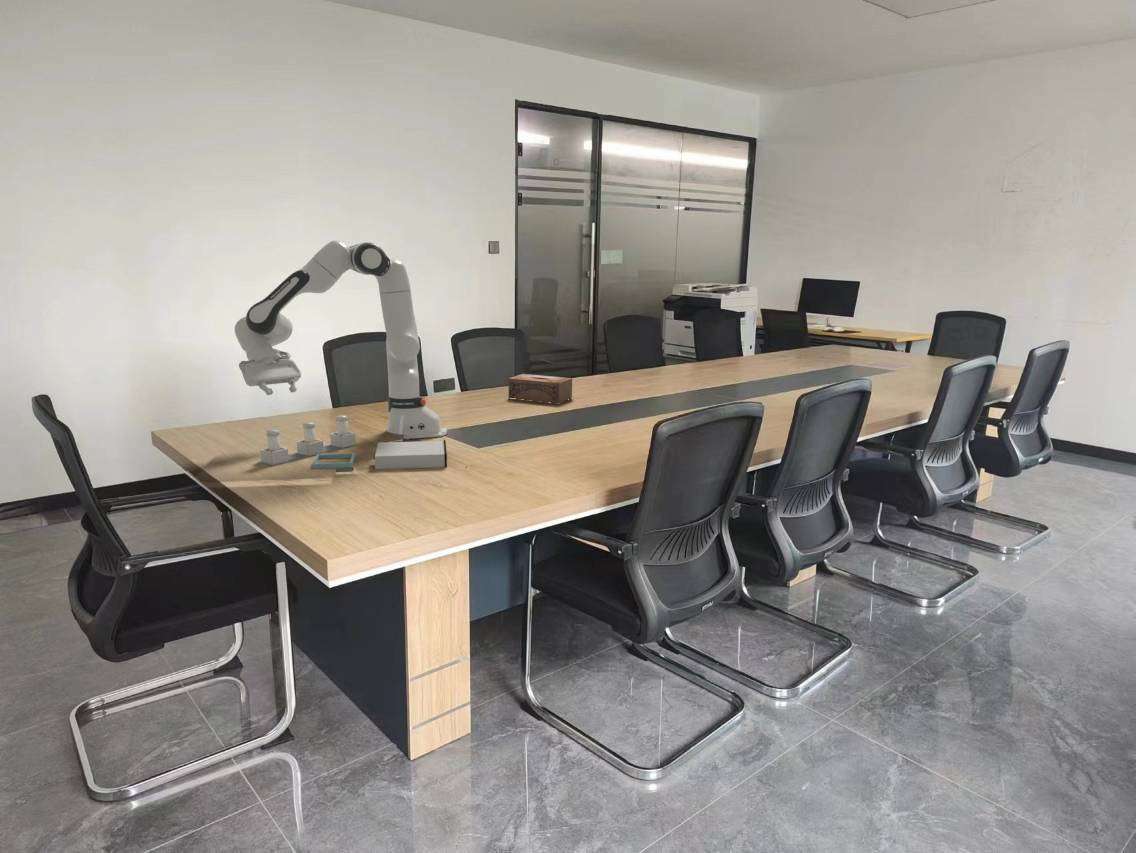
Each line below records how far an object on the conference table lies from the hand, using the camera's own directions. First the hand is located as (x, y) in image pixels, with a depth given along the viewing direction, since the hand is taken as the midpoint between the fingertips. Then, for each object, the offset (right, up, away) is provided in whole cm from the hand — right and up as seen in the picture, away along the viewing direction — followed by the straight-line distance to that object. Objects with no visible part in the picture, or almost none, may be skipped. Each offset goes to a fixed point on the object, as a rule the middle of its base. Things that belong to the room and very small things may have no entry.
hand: (282, 392), depth 262 cm
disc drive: (+45, -23, -5) cm, 51 cm away
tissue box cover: (+83, +1, +101) cm, 131 cm away
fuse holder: (+11, -21, -3) cm, 24 cm away
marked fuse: (+11, -20, -4) cm, 23 cm away
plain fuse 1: (+3, -22, -14) cm, 27 cm away
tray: (+22, -24, -14) cm, 35 cm away
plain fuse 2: (+18, -18, +7) cm, 26 cm away
